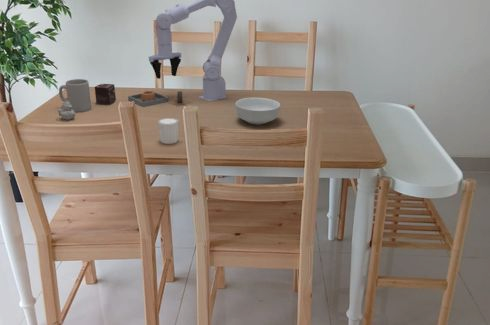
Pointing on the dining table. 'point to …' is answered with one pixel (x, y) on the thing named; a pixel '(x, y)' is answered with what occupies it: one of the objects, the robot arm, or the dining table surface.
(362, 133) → the dining table surface
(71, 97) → the mug
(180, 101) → the stake
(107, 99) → the box
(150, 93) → the ring
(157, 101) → the tray
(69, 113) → the grey stacked lumpy shape
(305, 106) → the dining table surface
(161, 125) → the white ribbed cylinder
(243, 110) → the cereal bowl
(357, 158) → the dining table surface
